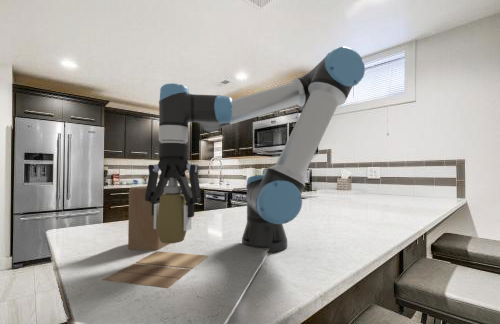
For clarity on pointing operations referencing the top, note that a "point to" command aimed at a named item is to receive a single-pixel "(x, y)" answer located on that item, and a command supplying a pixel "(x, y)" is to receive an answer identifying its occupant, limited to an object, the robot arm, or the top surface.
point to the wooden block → (142, 222)
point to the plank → (173, 259)
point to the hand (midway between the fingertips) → (172, 228)
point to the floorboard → (148, 275)
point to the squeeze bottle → (171, 214)
